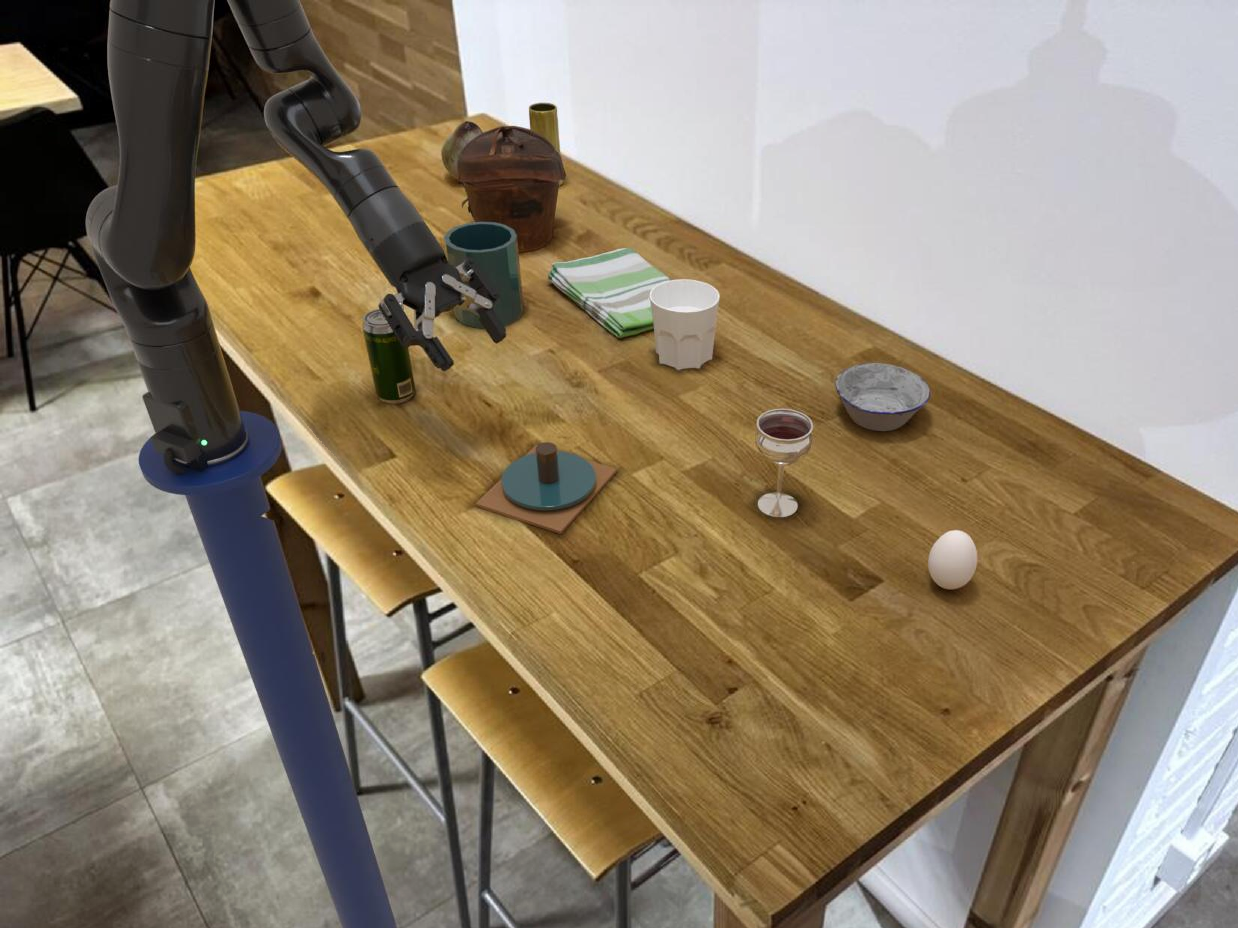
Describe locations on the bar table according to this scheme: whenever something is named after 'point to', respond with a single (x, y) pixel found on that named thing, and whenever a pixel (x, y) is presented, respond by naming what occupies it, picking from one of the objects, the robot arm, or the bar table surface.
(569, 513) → the mat
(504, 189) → the case
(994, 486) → the bar table surface
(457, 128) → the fruit
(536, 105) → the vase
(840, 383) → the bowl
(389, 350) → the beer can
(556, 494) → the lid with knob
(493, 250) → the teal hollow cylinder
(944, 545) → the egg
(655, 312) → the cup
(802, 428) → the wineglass
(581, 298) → the dish towel
